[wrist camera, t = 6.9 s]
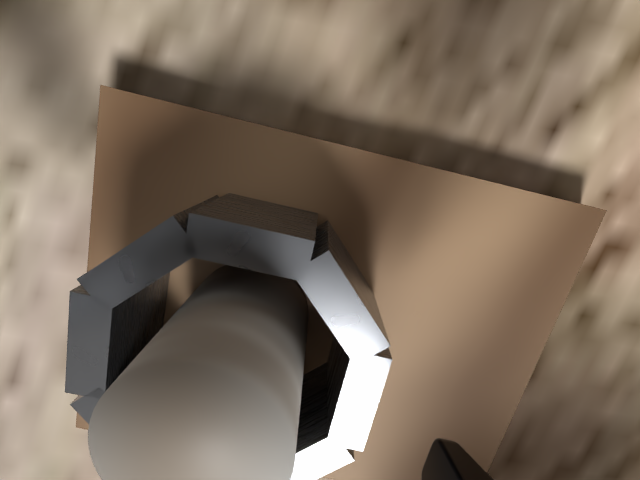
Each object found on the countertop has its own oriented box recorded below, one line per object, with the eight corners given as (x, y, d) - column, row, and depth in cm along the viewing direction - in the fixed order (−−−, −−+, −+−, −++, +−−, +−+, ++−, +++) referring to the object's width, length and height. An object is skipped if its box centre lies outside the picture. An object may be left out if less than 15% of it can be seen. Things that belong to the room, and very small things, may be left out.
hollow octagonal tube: (394, 230, 10) (422, 265, 7) (336, 429, 12) (340, 521, 9) (148, 174, 10) (74, 187, 7) (127, 387, 12) (61, 468, 9)
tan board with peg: (581, 204, 11) (875, 273, 5) (460, 481, 14) (561, 731, 8) (121, 90, 10) (-146, 19, 4) (94, 406, 13) (-92, 616, 7)
